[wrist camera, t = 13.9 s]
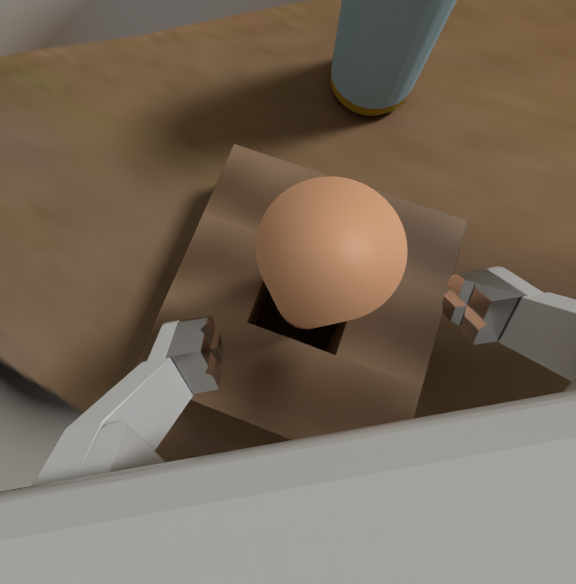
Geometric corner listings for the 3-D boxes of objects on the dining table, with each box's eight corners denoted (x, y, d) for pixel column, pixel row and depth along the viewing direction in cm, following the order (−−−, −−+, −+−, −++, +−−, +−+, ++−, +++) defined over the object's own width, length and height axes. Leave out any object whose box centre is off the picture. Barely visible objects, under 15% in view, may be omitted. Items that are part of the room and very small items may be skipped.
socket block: (244, 179, 21) (234, 143, 17) (433, 242, 20) (467, 220, 16) (163, 367, 19) (130, 376, 15) (373, 449, 18) (396, 481, 14)
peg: (288, 270, 20) (286, 157, 7) (337, 287, 20) (425, 203, 7) (270, 318, 19) (232, 290, 7) (320, 337, 19) (382, 345, 6)
